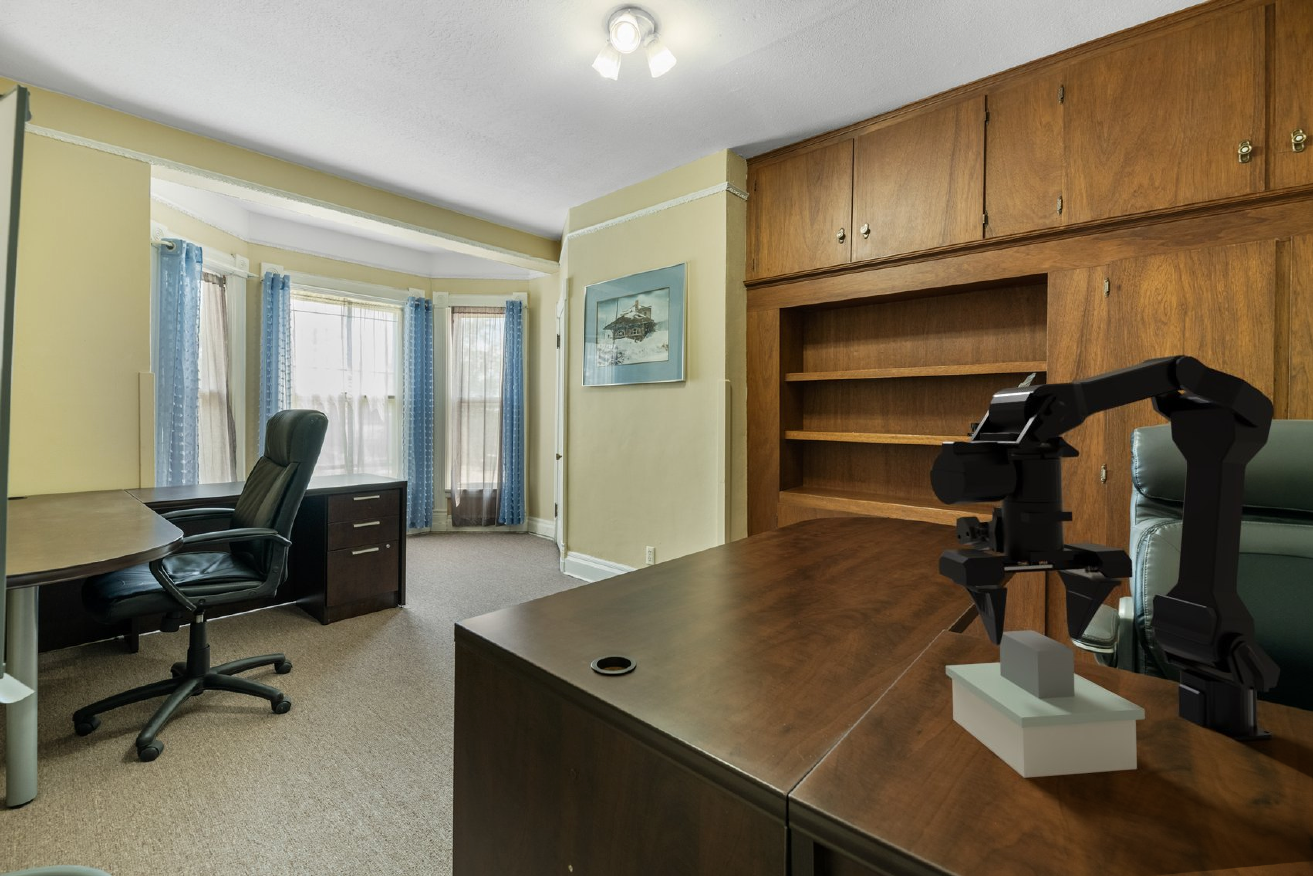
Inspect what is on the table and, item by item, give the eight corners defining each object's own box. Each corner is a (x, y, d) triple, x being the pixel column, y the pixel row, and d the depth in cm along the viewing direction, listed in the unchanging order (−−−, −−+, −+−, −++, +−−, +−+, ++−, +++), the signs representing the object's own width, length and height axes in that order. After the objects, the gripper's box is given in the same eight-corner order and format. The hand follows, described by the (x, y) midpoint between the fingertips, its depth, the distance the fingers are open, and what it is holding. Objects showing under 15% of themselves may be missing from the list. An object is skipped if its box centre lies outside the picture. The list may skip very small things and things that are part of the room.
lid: (1047, 675, 71) (1046, 618, 71) (1144, 729, 58) (1143, 659, 58) (946, 682, 70) (944, 624, 70) (1022, 738, 57) (1020, 666, 57)
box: (1047, 719, 71) (1046, 669, 71) (1136, 776, 59) (1135, 717, 59) (953, 725, 70) (952, 675, 70) (1024, 785, 58) (1023, 724, 58)
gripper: (1055, 489, 73) (1058, 614, 73) (911, 496, 72) (915, 623, 72) (1135, 499, 62) (1139, 646, 62) (967, 507, 61) (971, 657, 61)
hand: (1035, 641), depth 64 cm, fingers open, 9 cm apart
